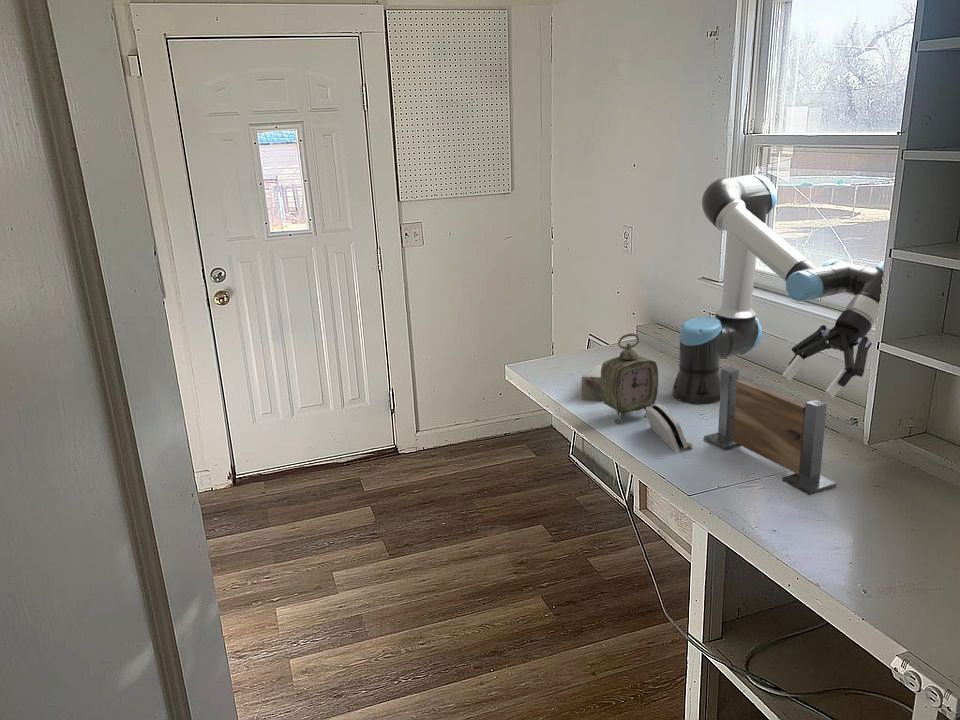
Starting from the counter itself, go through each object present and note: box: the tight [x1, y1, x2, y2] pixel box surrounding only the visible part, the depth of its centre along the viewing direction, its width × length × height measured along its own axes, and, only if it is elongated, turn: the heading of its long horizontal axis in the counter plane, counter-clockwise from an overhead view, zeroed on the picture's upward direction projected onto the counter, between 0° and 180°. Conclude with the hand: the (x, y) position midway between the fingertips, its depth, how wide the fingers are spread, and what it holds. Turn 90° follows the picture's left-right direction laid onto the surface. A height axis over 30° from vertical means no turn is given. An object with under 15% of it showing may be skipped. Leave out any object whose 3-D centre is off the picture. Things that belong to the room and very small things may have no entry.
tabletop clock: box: [600, 333, 659, 425], centre depth 212 cm, size 14×9×25 cm, turn 115°
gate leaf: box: [734, 378, 806, 475], centre depth 180 cm, size 3×22×17 cm, turn 24°
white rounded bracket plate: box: [644, 403, 694, 452], centre depth 198 cm, size 17×5×10 cm, turn 10°
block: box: [580, 364, 603, 402], centre depth 236 cm, size 19×8×8 cm, turn 157°
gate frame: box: [703, 366, 837, 496], centre depth 181 cm, size 8×36×20 cm, turn 24°
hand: (806, 386), depth 182 cm, fingers open, 13 cm apart
